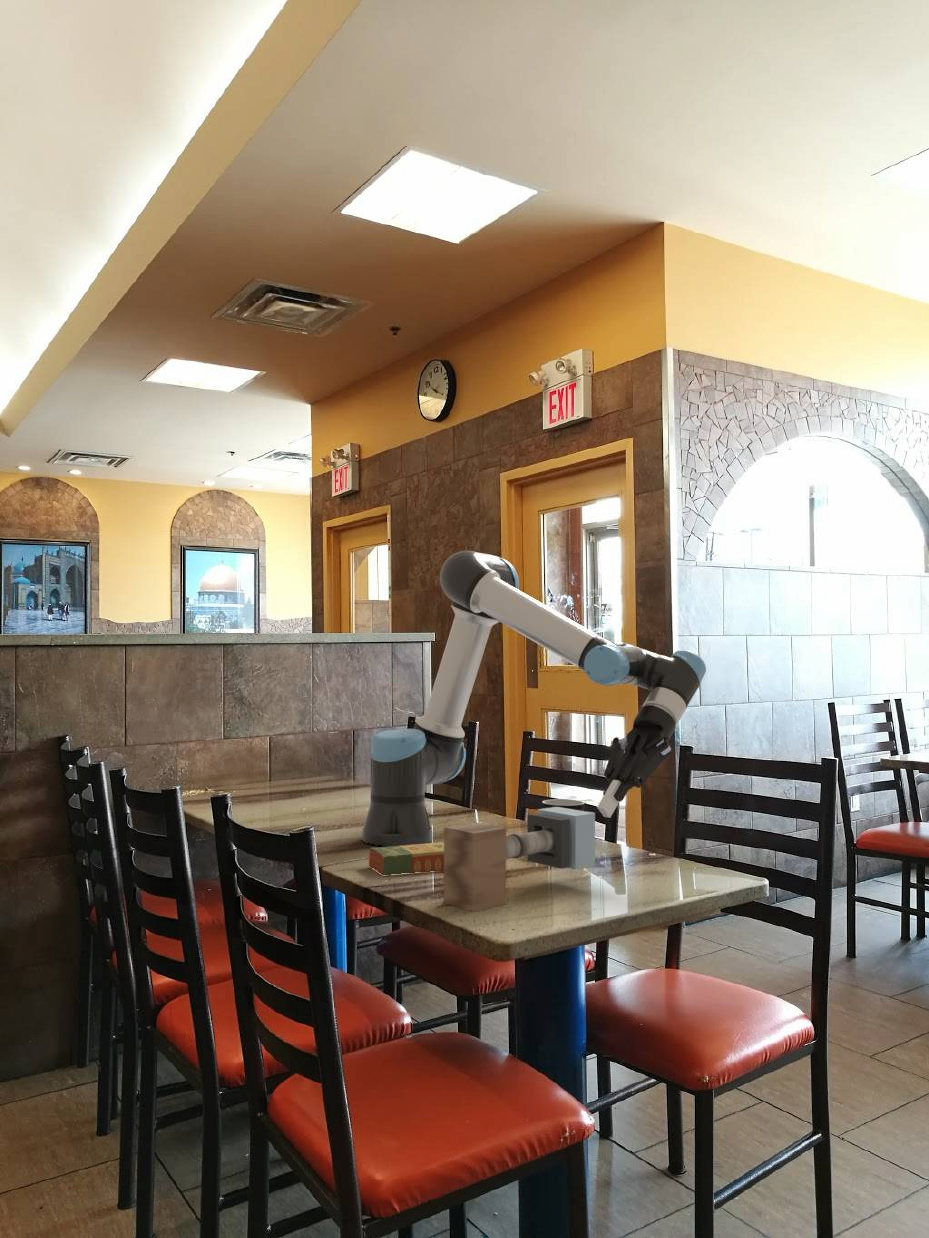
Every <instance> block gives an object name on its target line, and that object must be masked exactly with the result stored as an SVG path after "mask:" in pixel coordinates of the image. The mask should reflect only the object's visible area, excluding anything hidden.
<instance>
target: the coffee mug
mask: <svg viewBox="0 0 929 1238" xmlns="http://www.w3.org/2000/svg"><path fill="white" fill-rule="evenodd" d="M541 804H542V809H545V808H552V807H561V808H567V809H573V810H580V811H585V801H582V800H578V799H567V798H566V799H565V798H564V799H562V798H561V799H560V798H554V799H546V800H545V799H544V800H542V803H541Z"/></svg>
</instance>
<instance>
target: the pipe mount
mask: <svg viewBox="0 0 929 1238" xmlns="http://www.w3.org/2000/svg"><path fill="white" fill-rule="evenodd" d="M443 831H444V832H443V836H444V837H443V842H444V871H443V903H444V904H447V905H449V906H453V907H456V908H460V909H463V910H465V911H466V910H467V911H469V912H473V913H474V912H477V911H478V912H479V911H482V910H486V909H491V908H495V907H499V906H503V905H507V904H506V903H507V902H506V901H507V900H506V898H507V897H506V894H507V893H506V891H507V890H506V889H507V883H506V881H507V860H508V859H518V858H519V859H520V858H521V857H523V856H527V855H530V854H536V853H541V852H547V851H552V850H554V829H547V830H541V831H535V832H529V833H527V832H523V833H511V834H508V835H507V828H506V827H502V826H497V825H496V826H495V825H493V824H492V825H491V824H485V823H481V822H470V823H464V824H458V825H457V824H456V825H450V826H444V828H443Z"/></svg>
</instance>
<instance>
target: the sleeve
mask: <svg viewBox="0 0 929 1238" xmlns="http://www.w3.org/2000/svg"><path fill="white" fill-rule="evenodd" d="M537 814H543V815H548V816H554V817H560V818H566V819H570V824H569V867H566V868H568V869H572V870H579V869H585V868H589V867H594V866H596V812H593V811H585V810H584V811H580V810H573V809H567V808H561V807H552V808H545V809H543V808H539V809H537ZM547 829H553V828H548V827H543V826H542V830H547ZM547 853H552V854H554V850H552V851H547Z"/></svg>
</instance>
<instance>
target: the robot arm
mask: <svg viewBox="0 0 929 1238" xmlns="http://www.w3.org/2000/svg"><path fill="white" fill-rule="evenodd" d="M439 572H440V573H439V583H440V587H441V589H442V592H444V594H445V596H446V597H447V598H448V599H449V600H451V601H452V602H451V605H450V607H451V609H452V610H453V613H454V618H453V621H452V625H451V629H450V631H449V635H448V639H447V642H446V645H445V648H444V650H443V654H442V658H441V661H440V663H439V668H438V671H437V674H436V677H435V680H434V684H433V687H432V689H431V693H430V697H429V700H428V702H427V703H428V704H427V707H426V710H425V713H424V714H423V715H422V716H420V717H418V718H416V719H415V723H414V727H413V728H398V729H391V730H390V729H389V730H385V731H381V732H378V733H376V734H375V735H374V736H373V737H372V739H371V747H370V748H371V749H370V752H369V756H370V805H369V808H368V811H367V814H366V817H365V821H364V825H363V827H362V829H361V841H362V840H363V841H364V842H367V843H370V844H369V845H371V844H375V845H374V846H378V845H382V846H381V847H389V846H401V845H413V844H424V843H432V841H433V828H432V825H431V822H430V818H429V815H428V811H427V808H426V804H425V802H426V801H425V798H426V797H425V793H426V792H425V789H426V788H425V787H426V786H431V785H440V784H444V783H446V782H448V781H450V780H452V779H454V778H455V777H456V776H458V774H459V773H460V772H462V769H463V768H464V766H465V763H466V760H467V759H466V758H467V750H466V748H465V746H464V745H465V744H464V739H465V736H466V735H465V734H466V733H465V730H464V729H463V727H462V723H463V721H464V717H465V714H466V710H467V707H468V704H469V700H470V697H471V695H472V691H473V688H474V684H475V681H476V678H477V675H478V672H479V668H480V666H481V662H482V659H483V656H484V652H485V648H486V645H487V643H488V641H489V636H490V633H491V630H492V627H493V626H494V625H496V624H498V623H501V624H503V625H504V626H507V627H508V628H510V629H511V630H513V631H515V632H517V633H518V634H520V635H522V636H523V637H525V638H526V639H529V640H531V641H532V642H534V643H536V644H537V645H539V646H541V647H542V648H544V649H546V650H547V651H549V652H551V653H552V654H554V655H556V656H557V657H560V658H561V659H563V660H565V661H567V662H568V663H570V664H572V665H574V666H575V667H576V668H577V669H580V670H581V671H583V672H584V673H585V674H586V675H587V677H588V679H590V680H591V681H592V682H594V683H596V684H598V685H601V686H605V687H607V686H616V685H633V686H636V687H640V688H643V689H645V690H649V691H650V693H649V694H648V695H647V697H646V699H645V701H644V702H643V704H642V707H641V708H640V709H639V711H638V713H637V715H636V716H635V718H633V724H632V729H631V730H630V731H628V733H626V736H625V737H622V738H621V739H619V737H617V736H616V737H614V738H613V739H612V748H611V752H610V755H609V757H608V760H607V763H606V767H605V770H604V773H603V775H604V777H605V778H606V780H607V781H608V784H607V786H606V787H605V788H604V791H603V792H602V795H603V797H602V798H601V800H600V801H599V803H598V805H597V806H596V808H597V809H598V811H599V812H600V813H601V815H602V816H603V817H604V818H609V819H610V818H611V817H612V815H613V814H614V812H615V810H616V808H617V807H618V805H619V803H620V802H622V801H624V800H625V797H626V796H627V794H628V792H629V791H630V790H631V789H633V787H634V788H637V789H639V788H641V787H642V786H643V785H644V784H645V782H647V780H649V778H650V776H651V775H653V773H654V772H655V770H656V769H657V768H658V767H660V765H661V763H662V762H663V761H664V760H665V759H667V758H668V757H669V756H671V755H672V754H673V752H674V751H673V750H672V748H671V746H670V744H669V743H668V742H669V740H670V739H671V737H672V735H673V733H674V732H675V730H676V726H677V725H678V724H679V722H680V720H681V718H682V717H683V715H684V713H685V712H686V709H687V708H688V706H689V705H690V703H691V701H692V699H693V697H694V695H696V692H697V690H698V689H699V688H700V687H701V683H702V682H703V679H704V677H705V675H706V672H707V668H706V664H705V661H704V660H703V658H701V656H699V655H698V654H697V653H695V652H694V651H691V650H689V649H688V650H687V649H684V650H681V649H678V650H676V651H674V653H672V655H671V656H670V657H669V656H666V655H662V654H658V653H656V652H652V651H650V650H647V649H644V648H641V647H638V646H635V645H633V644H631V643H627V642H622V641H618V640H616V641H613V642H611V641H610V640H607V639H606V638H604V637H602V636H600V635H599V634H597V633H595V632H593V631H592V630H590V629H588V628H586V627H585V626H583V625H582V624H579V623H578V622H576V621H574V620H572V619H571V618H570V617H567V616H565V615H563V614H562V613H560V612H558V611H557V610H555V609H553V608H551V607H550V606H548V605H546V604H544V603H542V602H540V601H539V600H537V599H535V598H533V597H532V596H530V595H529V594H526V593H524V592H523V591H521V590H520V580H519V579H520V578H519V575H518V572H517V570H516V569H515V567H514V565H512V563H510V562H509V561H508V560H506V559H504V558H502V557H499V556H498V555H494V554H491V553H490V554H488V553H482V552H477V551H474V550H461V551H457V552H455V553H453V554H452V555H450V556H449V557H448V558H447V559H446V560H445V561H444V563H443V564H442V566H441V570H440V571H439ZM363 841H362V842H363ZM364 842H363V843H364ZM367 843H366V844H367Z"/></svg>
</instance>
